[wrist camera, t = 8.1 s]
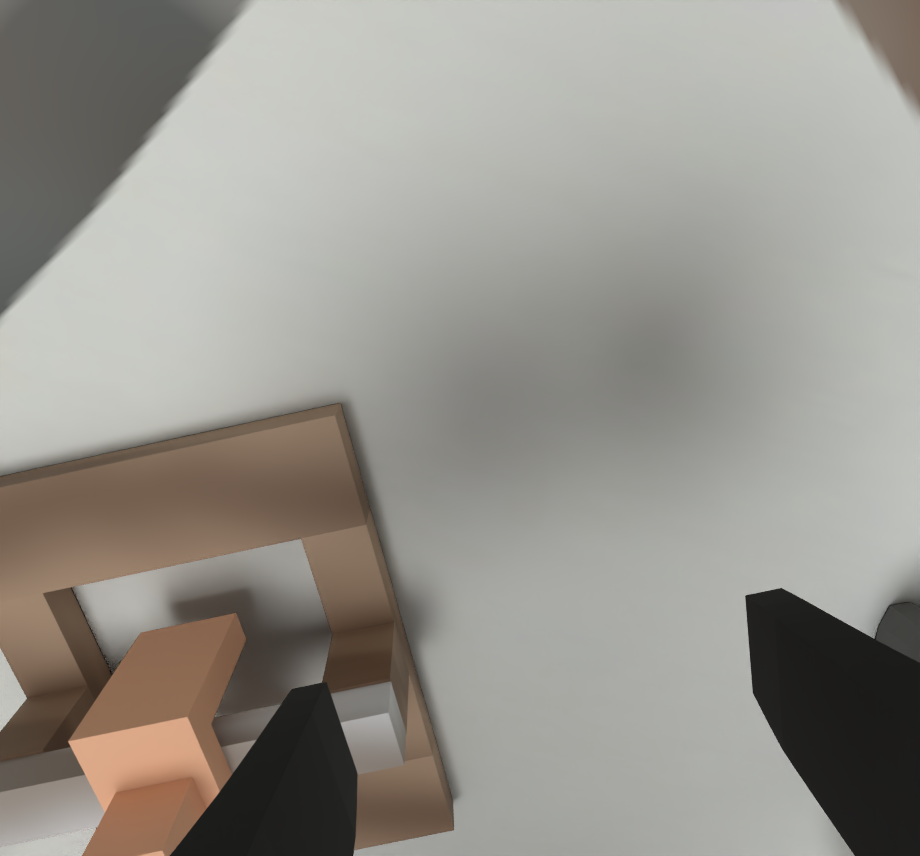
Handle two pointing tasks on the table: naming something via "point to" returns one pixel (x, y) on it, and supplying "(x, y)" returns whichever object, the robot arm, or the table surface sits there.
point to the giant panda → (901, 629)
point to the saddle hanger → (158, 737)
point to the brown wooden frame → (190, 539)
